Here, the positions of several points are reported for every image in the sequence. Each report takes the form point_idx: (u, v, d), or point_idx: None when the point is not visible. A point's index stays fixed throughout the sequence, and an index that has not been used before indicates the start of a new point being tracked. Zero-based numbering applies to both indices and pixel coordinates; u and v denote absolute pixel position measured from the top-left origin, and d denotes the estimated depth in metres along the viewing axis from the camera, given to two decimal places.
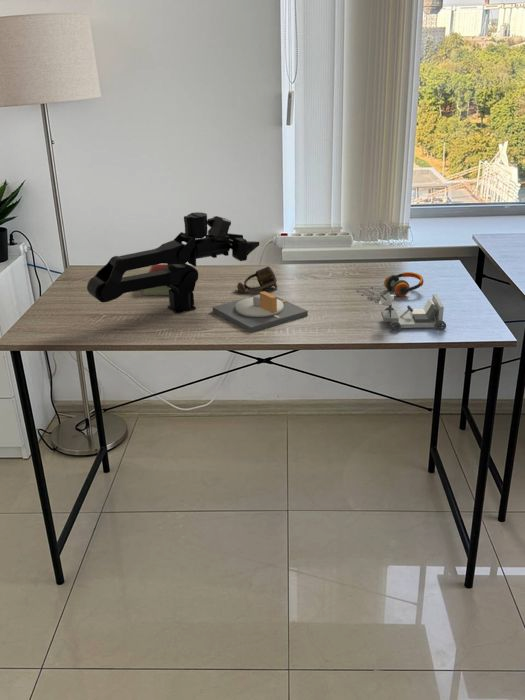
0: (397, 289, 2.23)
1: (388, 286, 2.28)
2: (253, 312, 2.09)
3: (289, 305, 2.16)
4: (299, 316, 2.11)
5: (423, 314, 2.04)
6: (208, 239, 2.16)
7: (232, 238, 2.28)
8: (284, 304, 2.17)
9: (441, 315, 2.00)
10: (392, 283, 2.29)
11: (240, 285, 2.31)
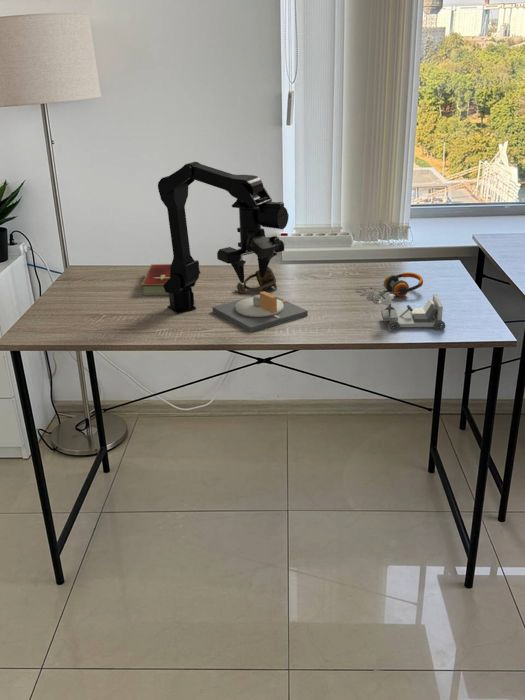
0: (396, 289, 2.23)
1: (387, 286, 2.27)
2: (253, 312, 2.09)
3: (289, 305, 2.16)
4: (299, 316, 2.11)
5: (422, 314, 2.05)
6: (252, 227, 1.94)
7: (261, 264, 2.03)
8: (284, 304, 2.17)
9: (440, 315, 2.00)
10: (392, 283, 2.29)
11: (240, 285, 2.31)
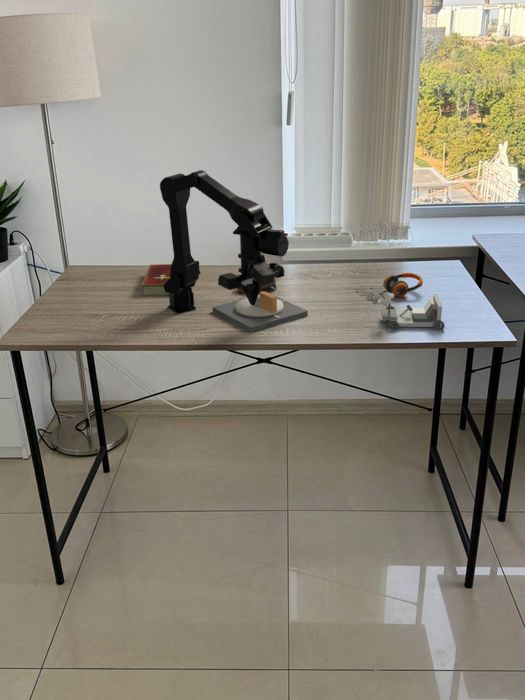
0: (396, 290, 2.22)
1: (387, 287, 2.27)
2: (253, 312, 2.09)
3: (289, 305, 2.16)
4: (299, 316, 2.11)
5: (422, 313, 2.05)
6: (253, 254, 1.96)
7: None
8: (284, 304, 2.17)
9: (439, 315, 2.00)
10: (391, 284, 2.28)
11: None
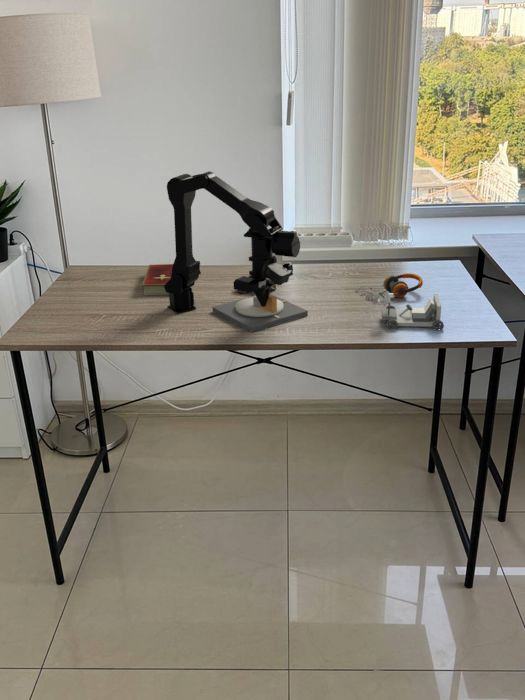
0: (395, 290, 2.22)
1: (387, 287, 2.27)
2: (253, 312, 2.09)
3: (289, 305, 2.16)
4: (299, 316, 2.11)
5: (422, 313, 2.05)
6: (267, 255, 1.99)
7: None
8: (284, 304, 2.17)
9: (439, 315, 2.00)
10: (391, 284, 2.28)
11: None
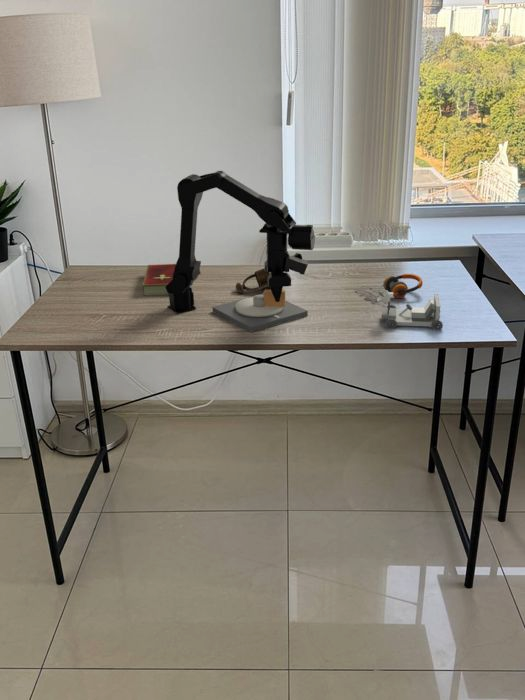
0: (395, 290, 2.22)
1: (387, 287, 2.27)
2: (270, 311, 2.09)
3: (289, 305, 2.16)
4: (299, 316, 2.11)
5: (421, 313, 2.05)
6: (286, 249, 2.04)
7: None
8: None
9: (438, 315, 2.00)
10: (391, 284, 2.28)
11: (238, 285, 2.31)
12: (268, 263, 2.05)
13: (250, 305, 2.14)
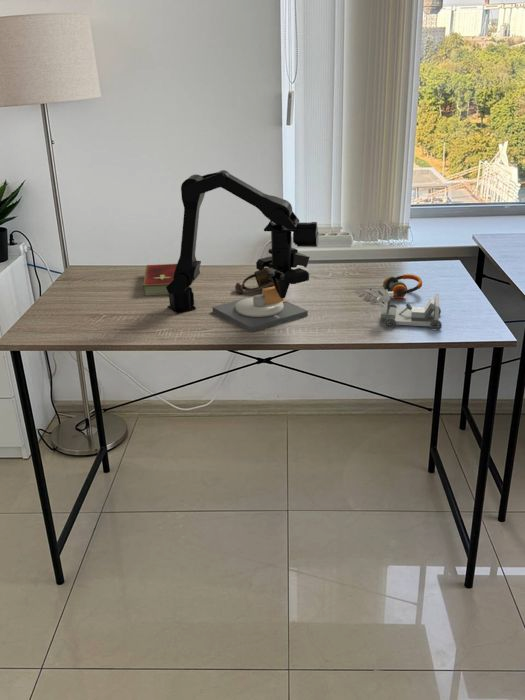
0: (394, 291, 2.21)
1: (386, 288, 2.26)
2: (278, 307, 2.12)
3: (289, 305, 2.16)
4: (299, 316, 2.11)
5: (421, 313, 2.05)
6: None
7: None
8: (284, 304, 2.17)
9: (437, 314, 2.00)
10: (391, 285, 2.27)
11: (238, 285, 2.31)
12: (276, 262, 2.06)
13: (252, 307, 2.12)
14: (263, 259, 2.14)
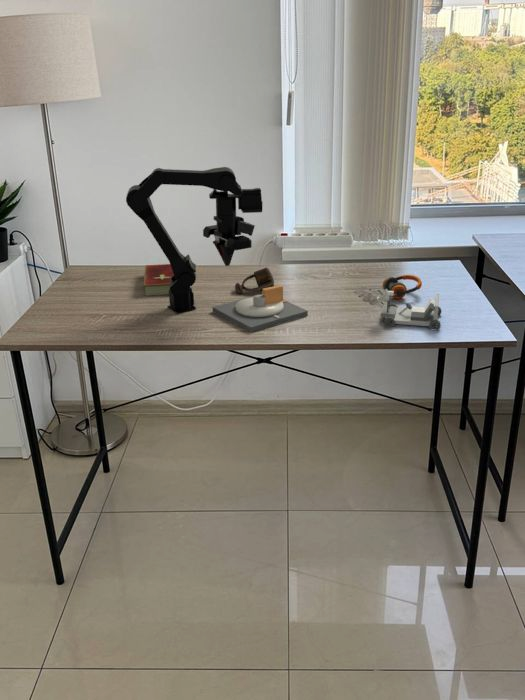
0: None
1: (386, 288, 2.26)
2: (278, 307, 2.12)
3: (289, 305, 2.16)
4: (299, 316, 2.11)
5: (421, 312, 2.05)
6: None
7: None
8: (284, 304, 2.17)
9: (436, 314, 2.00)
10: (390, 285, 2.27)
11: (237, 285, 2.31)
12: (220, 228, 2.09)
13: (252, 307, 2.12)
14: (210, 227, 2.17)
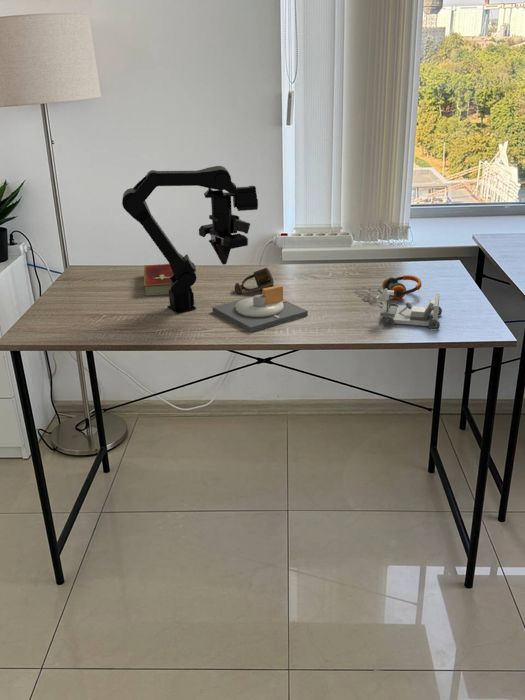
0: None
1: (385, 288, 2.26)
2: (278, 307, 2.12)
3: (289, 305, 2.16)
4: (299, 316, 2.11)
5: (421, 312, 2.06)
6: None
7: None
8: (284, 304, 2.17)
9: (435, 314, 2.00)
10: (390, 286, 2.27)
11: (237, 285, 2.31)
12: (216, 227, 2.10)
13: (252, 307, 2.12)
14: (205, 226, 2.18)
